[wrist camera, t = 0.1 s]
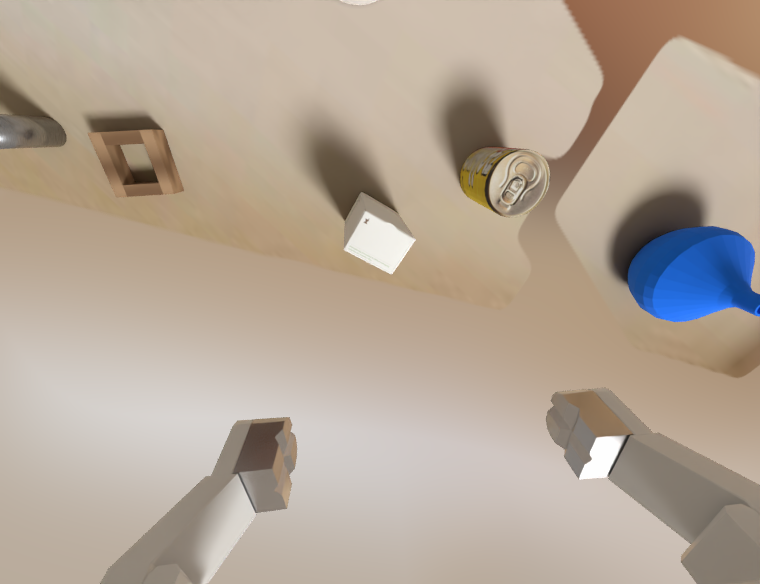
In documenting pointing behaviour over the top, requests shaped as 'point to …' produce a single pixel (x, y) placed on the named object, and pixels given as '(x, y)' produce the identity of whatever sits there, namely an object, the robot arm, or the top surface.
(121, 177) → the collar
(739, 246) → the vase
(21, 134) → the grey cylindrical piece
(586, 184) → the top surface
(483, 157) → the beverage can
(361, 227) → the skincare box
